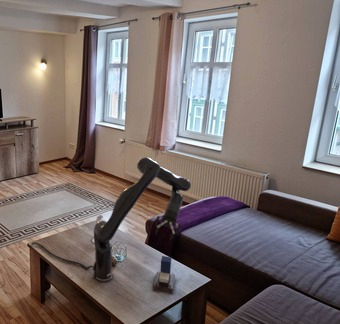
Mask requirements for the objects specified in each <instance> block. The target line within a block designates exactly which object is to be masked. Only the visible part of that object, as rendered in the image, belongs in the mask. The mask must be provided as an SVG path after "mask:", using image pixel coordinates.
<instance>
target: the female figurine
mask: <svg viewBox="0 0 340 324" xmlns="http://www.w3.org/2000/svg"><path fill="white" fill-rule="evenodd" d="M99 221H104V215H103V214H101V213H99V214H98V216H97V217H96V219H95V224H96V223H97V222H99ZM88 228H92V229H93V226H89V225H88ZM91 241H92V243H93V244H94V238H92V239H91Z"/></svg>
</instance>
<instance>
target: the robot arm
mask: <svg viewBox="0 0 340 324" xmlns="http://www.w3.org/2000/svg"><path fill="white" fill-rule="evenodd" d="M136 167H137V170H138V172H139V173H140V174H142V175H141V177H140V178H139V179H138V180H137V181H136V182H135V183H134V184H132V185H130V186H128V187H126V188H125V189H123V190H122V191H121V192H120V194H119V195H118V197H117V199H116V200H115V203H114V205H113V208H112V212H111V215H110V216H109V218H108V220H107V221H106V220H103V221H99V222H97V223H96V222H95V225H94V227H93V239H94V243H93V244H94V251H95V252H94V256H95V257H94V258H95V260H94V263H93V265H89V266H88V267H86V266H85V265H84V264H82V263H81V262H78V261H75V260H69V259H65V258H62V257H60V256H58V255H56V254H54V253H52V252H51V251H49V250H48V249H47V248H46V247H45V246H44V245H42V244H40V243H38V242H36V241H35V242H32V243H31V245H37V246H39V247H41V248H42V249H44V250H45V251H46V252H47V253H48V254H50V255H51V256H53V257H55V258H57V259H59V260H62V261H64V262H68V263H73V264H77V265H79V266H81V267H82V268H84V269H85V270H89V269H90V268H92V271H93V278H94V279H96V280H97V281H99V282H108V281H110V280H111V279H112V278H113V272H112V271H113V245H112V241H111V240H112V239H113V238H114V236H116V233H117V231H118V230H119V228H120V227H121V225H122V223H123V221H124V220H125V219H126V217H127V216H128V215H129V213H130V211H131V210H132V209H133V207H134V206H135V204H136V203H137V202H138V200H139V199H140V197H141V196H142V195H143V194H144V192H145V190H146V189H147V188H148V187H149V186H150V184H151V183H153V181H154V180H155V179H158V180H159V181H161V182H163V183H165V184H166V185H168V186H171V194H170V198H169V200H168V203H167V206H166V208H165V210H164V213H163V216H162V217H161V216H160V215H158V216H157V217H156V219H155V222H154V224H153V225H154V226H155V231H154V233H155V235H157V234H158V232H159V230H160V227H162V226H163V227H166V228H168V229H170V230H171V232H172V233H171V235H170V238H169V240H170V241H172V240H173V239H174V237H175V235H179V232H180V229H181V223H177V219H178V216H179V213H180V211H181V207H182V203H183V200H184V195H182V194H181V193H180V191H181V192H187V191H190V189H191V187H192V183H191V181H190V180H189V179H188V178H185V177H182V176H179V175H177V174H176V173H174V172H172V171H170V170H167V169H165V168H163V167H161V165H160V164H159V163H158V162H156V161H155V160H153V159H151V158H150V157H141V158H140V159H139V160H138V162H137V164H136ZM160 220H161V223H159V221H160ZM158 223H159V224H158ZM175 226H176V231H175V229H174V227H175Z"/></svg>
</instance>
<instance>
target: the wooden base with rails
mask: <svg viewBox="0 0 340 324" xmlns="http://www.w3.org/2000/svg"><path fill="white" fill-rule="evenodd" d="M159 278H160V270H158V271H156V273H155V277H154V282H153V289H152V290H153V291H156V292H161V293H162V292H163V293H165V294H173V293H174V285H175V279H176V274H174V273H172V272H171V273H170V279H169V285H168V287H167V286H162V285H159Z"/></svg>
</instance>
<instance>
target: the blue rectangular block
mask: <svg viewBox="0 0 340 324" xmlns="http://www.w3.org/2000/svg"><path fill="white" fill-rule="evenodd" d="M171 267H172V257H171V256H165V255H162V256H161V259H160V270H159V271H160V278H159V285H162V286H167V287H168V285H169V279H170V274H171V270H172V268H171Z"/></svg>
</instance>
